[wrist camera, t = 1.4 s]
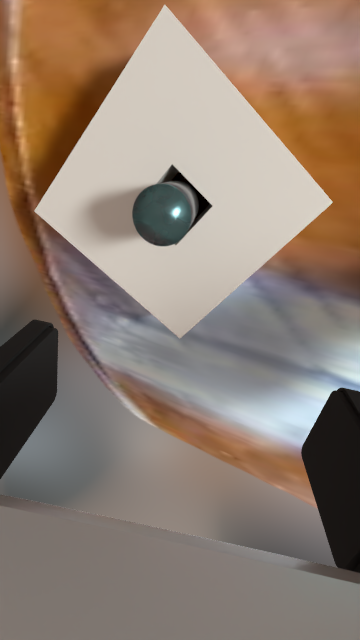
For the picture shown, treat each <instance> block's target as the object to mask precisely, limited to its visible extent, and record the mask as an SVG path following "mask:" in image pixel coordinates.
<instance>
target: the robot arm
mask: <svg viewBox="0 0 360 640" xmlns="http://www.w3.org/2000/svg"><path fill="white" fill-rule="evenodd" d="M57 356H58V330H57V329H55V328H54V327H53V324H51V323H48V322H44V321H39V320H32V321H31V322H30V323H29V324H27V325H26V326H25V327H24V328H23V329H21V330H20V331H19V332H18V333H17V334H15V335H14V336H13V337H12V338H11V339H9V340H8V341H7V342H6V343H5V344H4V345H2V346H1V347H0V479H1V477H2V476H3V474H4V473H5V472H6V470H7V469H8V467H9V466H10V464H11V463H12V461H13V460H14V458H15V457H16V456H17V454H18V452H19V451H20V450H21V448H22V446H23V445H24V444H25V442H26V441H27V440H28V438H29V437H30V435H31V434H32V432H33V431H34V429H35V428H36V426H37V425H38V424H39V422H40V420H41V419H42V418H43V416H44V415H45V413H46V412H47V410H48V409H49V407H50V406H51V405H52V403H53V402H54V400H55V397H56V393H57V359H58V357H57ZM301 453H302V459H303V462H304V465H305V468H306V472H307V475H308V478H309V481H310V484H311V488H312V491H313V494H314V497H315V500H316V504H317V507H318V510H319V513H320V516H321V519H322V523H323V526H324V529H325V532H326V536H327V539H328V542H329V545H330V548H331V552H332V555H333V558H334V561H335V564H336V566H337V567H338V568H336V567H332V566H327V565H322V564H318V563H314V562H309V561H305V560H301V559H296V558H292V557H287V556H282V555H279V554H274V553H270V552H265V551H261V550H256V549H252V548H247V547H243V546H238V545H234V544H229V543H225V542H220V541H215V540H211V539H206V538H202V537H198V536H193V535H188V534H184V533H179V532H175V531H170V530H166V529H161V528H157V527H152V526H148V525H143V524H138V523H134V522H129V521H124V520H120V519H115V518H111V517H106V516H101V515H96V514H92V513H87V512H82V511H78V510H73V509H68V508H63V507H59V506H54V505H49V504H45V503H40V502H36V501H31V500H26V499H20V498H14V497H10V496H5V495H0V640H360V392H359V391H355V390H350V389H346V388H339V389H338V390H337V391H333V392H332V393H331V394H330V396H329V398H328V400H327V402H326V404H325V405H324V407H323V409H322V411H321V413H320V415H319V417H318V418H317V420H316V422H315V424H314V426H313V428H312V429H311V431H310V433H309V435H308V437H307V439H306V441H305V442H304V444H303V446H302V452H301Z"/></svg>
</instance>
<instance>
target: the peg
mask: <svg viewBox="0 0 360 640" xmlns="http://www.w3.org/2000/svg"><path fill="white" fill-rule="evenodd" d="M198 210H199V200H198V196H197V194H196V192H195V190H194V189H193V188H192V187H191V186H190V185H189V184H187V183H185V182H182V181H170V182H165V183H160V184H155V185H151V186H149V187H147V188H145V189H144V190H143V191H142V192H141V193H140V194H139V195H138V196H137V198H136V200H135V202H134V205H133V210H132V218H133V223H134V226H135V228H136V230H137V232H138V233H139V235H140V236H141V237H142V238H143V239H144V240H145V241H147V242H149V243H150V244H153V245H156V246H170V245H173V244H175V243H177V242H178V241H180V240H181V239H182V238H183V237H184V236H185V235H186V233H187V231H188V230H189V228H190V226H191V224H192V223H193V221H194V219H195V218H196V216H197V213H198Z"/></svg>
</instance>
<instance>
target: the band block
mask: <svg viewBox="0 0 360 640" xmlns="http://www.w3.org/2000/svg"><path fill="white" fill-rule="evenodd" d="M178 172H180V173H181V174H182V175H183V176H184V177H185V178H186V179H187V180H188V181H189V182H190V183H191V184H192V185H193V186H194V187H195V188H196V189H197V190H198V191H199V192H200V193H201V194H202V195H203V196H204V197H205V198H206V200H207V201H208V202H209V203H210V204H209V205H208V206H207V207H206V209H205V210H204V211H203V212H202V213H201V214H200V215H199V216H198V217H197V218H196V219H195V221H194V222H193V223H192V224H191V226H190V228H189V230H188V231H187V233H186V235H185V236H184V237H183V238H182V239H181V240H180V241H178V242H177V243H175V244H173V245H170V246H156V245H153V244H150V243H149V242H147V241H145V240H144V239H143V238H142V237H141V236H140V235H139V233H138V232H137V230H136V228H135V226H134V223H133V218H132V210H133V205H134V202H135V200H136V198H137V196H138V195H139V194H140V193H141V192H142V191H143V190H144V189H145V188H147V187H149V186H151V185H155V184H160V183H165V182H170V181H171V180H172V179H173V178H174V177H175V175H176V174H177V173H178ZM332 203H333V202H332V201H331V199H330V198H329V197H328V196H327V195H326V194H325V192H324V191H323V190H322V189H321V188H320V187H319V185H318V184H317V183H316V182H315V181H314V179H313V178H312V177H311V176H310V175H309V174H308V172H307V171H306V170H305V169H304V168H303V166H302V165H301V164H300V163H299V162H298V161H297V159H296V158H295V157H294V156H293V155H292V154H291V152H290V151H289V150H288V149H287V148H286V146H285V145H284V144H283V143H282V142H281V141H280V139H279V138H278V137H277V136H276V135H275V134H274V132H273V131H272V130H271V129H270V128H269V126H268V125H267V124H266V123H265V122H264V121H263V119H262V118H261V117H260V116H259V115H258V114H257V112H256V111H255V110H254V109H253V108H252V106H251V105H250V104H249V103H248V102H247V101H246V99H245V98H244V97H243V96H242V95H241V94H240V92H239V91H238V90H237V89H236V88H235V86H234V85H233V84H232V83H231V82H230V81H229V79H228V78H227V77H226V76H225V75H224V73H223V72H222V71H221V70H220V69H219V68H218V66H217V65H216V64H215V63H214V62H213V61H212V59H211V58H210V57H209V56H208V55H207V53H206V52H205V51H204V50H203V49H202V48H201V46H200V45H199V44H198V43H197V42H196V41H195V39H194V38H193V37H192V36H191V35H190V33H189V32H188V31H187V30H186V29H185V28H184V26H183V25H182V24H181V23H180V22H179V21H178V19H177V18H176V17H175V16H174V15H173V13H172V12H171V11H170V10H169V9H168V8H167V6H166V5H164V7H163V8H162V10H161V11H160V13H159V15H158V16H157V18H156V19H155V21H154V23H153V24H152V26H151V27H150V29H149V30H148V32H147V34H146V35H145V37H144V38H143V40H142V41H141V43H140V45H139V46H138V48H137V49H136V51H135V53H134V54H133V56H132V57H131V59H130V60H129V62H128V64H127V65H126V67H125V68H124V70H123V72H122V73H121V75H120V76H119V78H118V79H117V81H116V83H115V84H114V86H113V87H112V89H111V90H110V92H109V94H108V95H107V97H106V98H105V100H104V102H103V103H102V105H101V106H100V108H99V109H98V111H97V113H96V114H95V116H94V117H93V119H92V121H91V122H90V124H89V125H88V127H87V128H86V130H85V132H84V133H83V135H82V136H81V138H80V139H79V141H78V143H77V144H76V146H75V147H74V149H73V151H72V152H71V154H70V155H69V157H68V158H67V160H66V162H65V163H64V165H63V166H62V168H61V169H60V171H59V173H58V174H57V176H56V177H55V179H54V181H53V182H52V184H51V185H50V187H49V188H48V190H47V192H46V193H45V195H44V196H43V198H42V200H41V201H40V203H39V204H38V206H37V207H36V209H35V211H34V212H36V213H37V214H38V215H39V216H40V217H41V218H42V219H44V220H45V221H46V222H47V223H48V224H49V225H50V226H52V227H53V228H54V229H55V230H56V231H57V232H58V233H60V234H61V235H62V236H63V237H64V238H65V239H66V240H68V241H69V242H70V243H71V244H72V245H73V246H74V247H76V248H77V249H78V250H79V251H80V252H81V253H82V254H84V255H85V256H86V257H87V258H88V259H89V260H90V261H92V262H93V263H94V264H95V265H96V266H97V267H98V268H100V269H101V270H102V271H103V272H104V273H105V274H107V275H108V276H109V277H110V278H111V279H112V280H113V281H115V282H116V283H117V284H118V285H119V286H120V287H121V288H123V289H124V290H125V291H126V292H127V293H128V294H129V295H131V296H132V297H133V298H134V299H135V300H136V301H137V302H139V303H140V304H141V305H142V306H143V307H144V308H145V309H147V310H148V311H149V312H150V313H151V314H152V315H153V316H155V317H156V318H157V319H158V320H159V321H160V322H161V323H163V324H164V325H165V326H166V327H167V328H168V329H169V330H171V331H172V332H173V333H174V334H175V335H176V336H177V337H179V338H181V337H183V336H184V335H185V334H186V333H187V332H188V331H189V330H190V329H191V328H193V327H194V326H195V325H196V324H197V323H198V322H199V321H200V320H202V319H203V318H204V317H205V316H206V315H207V314H208V313H209V312H211V311H212V310H213V309H214V308H215V307H216V306H217V305H218V304H220V303H221V302H222V301H223V300H224V299H225V298H226V297H227V296H229V295H230V294H231V293H232V292H233V291H234V290H235V289H236V288H238V287H239V286H240V285H241V284H242V283H243V282H244V281H245V280H246V279H248V278H249V277H250V276H251V275H252V274H253V273H254V272H255V271H257V270H258V269H259V268H260V267H261V266H262V265H263V264H264V263H266V262H267V261H268V260H269V259H270V258H271V257H272V256H273V255H275V254H276V253H277V252H278V251H279V250H280V249H281V248H282V247H284V246H285V245H286V244H287V243H288V242H289V241H290V240H291V239H293V238H294V237H295V236H296V235H297V234H298V233H299V232H300V231H301V230H303V229H304V228H305V227H306V226H307V225H308V224H309V223H310V222H312V221H313V220H314V219H315V218H316V217H317V216H318V215H319V214H321V213H322V212H323V211H324V210H325V209H326V208H327V207H328V206H330V205H331V204H332Z"/></svg>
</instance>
